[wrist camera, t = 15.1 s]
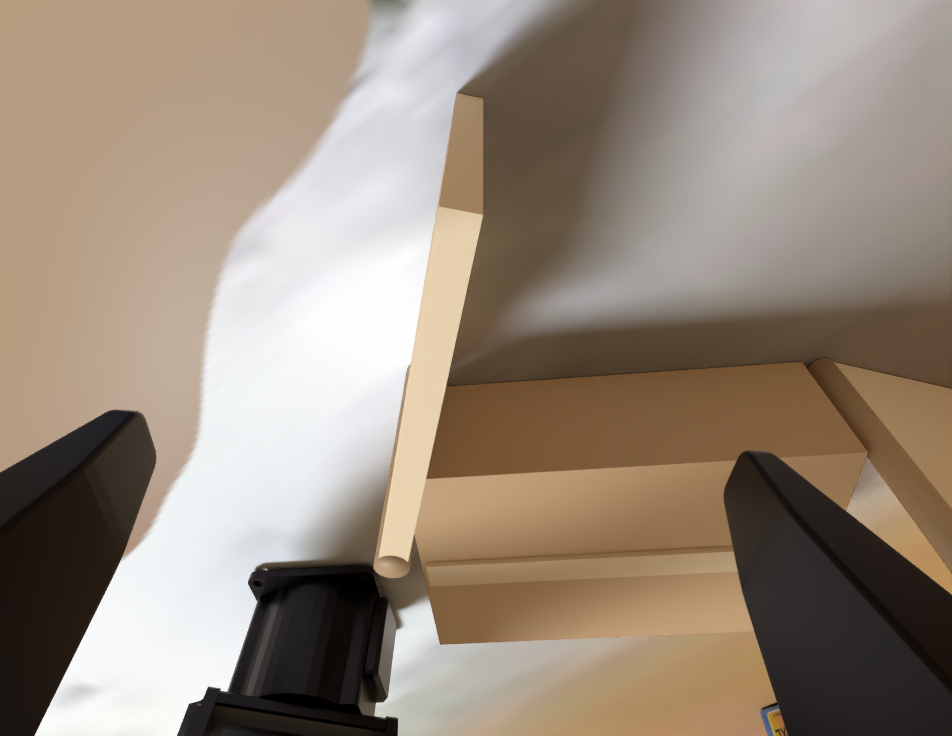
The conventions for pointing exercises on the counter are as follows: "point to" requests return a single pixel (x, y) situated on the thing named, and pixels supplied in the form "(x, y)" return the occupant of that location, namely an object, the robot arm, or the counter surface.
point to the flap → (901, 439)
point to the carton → (610, 498)
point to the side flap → (434, 334)
